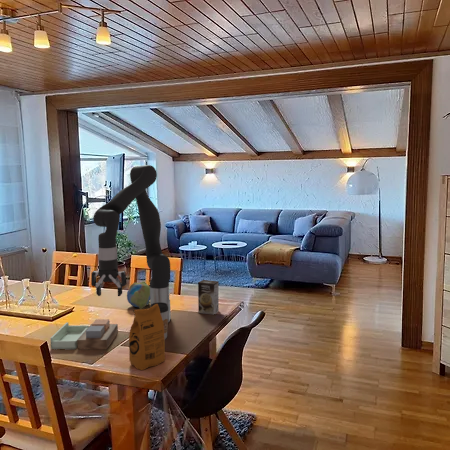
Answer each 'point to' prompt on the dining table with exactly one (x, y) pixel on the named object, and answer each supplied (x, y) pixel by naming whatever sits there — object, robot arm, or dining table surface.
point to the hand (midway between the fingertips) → (109, 295)
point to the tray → (67, 336)
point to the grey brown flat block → (98, 339)
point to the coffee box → (208, 297)
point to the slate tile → (95, 332)
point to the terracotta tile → (102, 323)
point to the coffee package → (147, 338)
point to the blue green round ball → (139, 295)
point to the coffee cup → (163, 315)
